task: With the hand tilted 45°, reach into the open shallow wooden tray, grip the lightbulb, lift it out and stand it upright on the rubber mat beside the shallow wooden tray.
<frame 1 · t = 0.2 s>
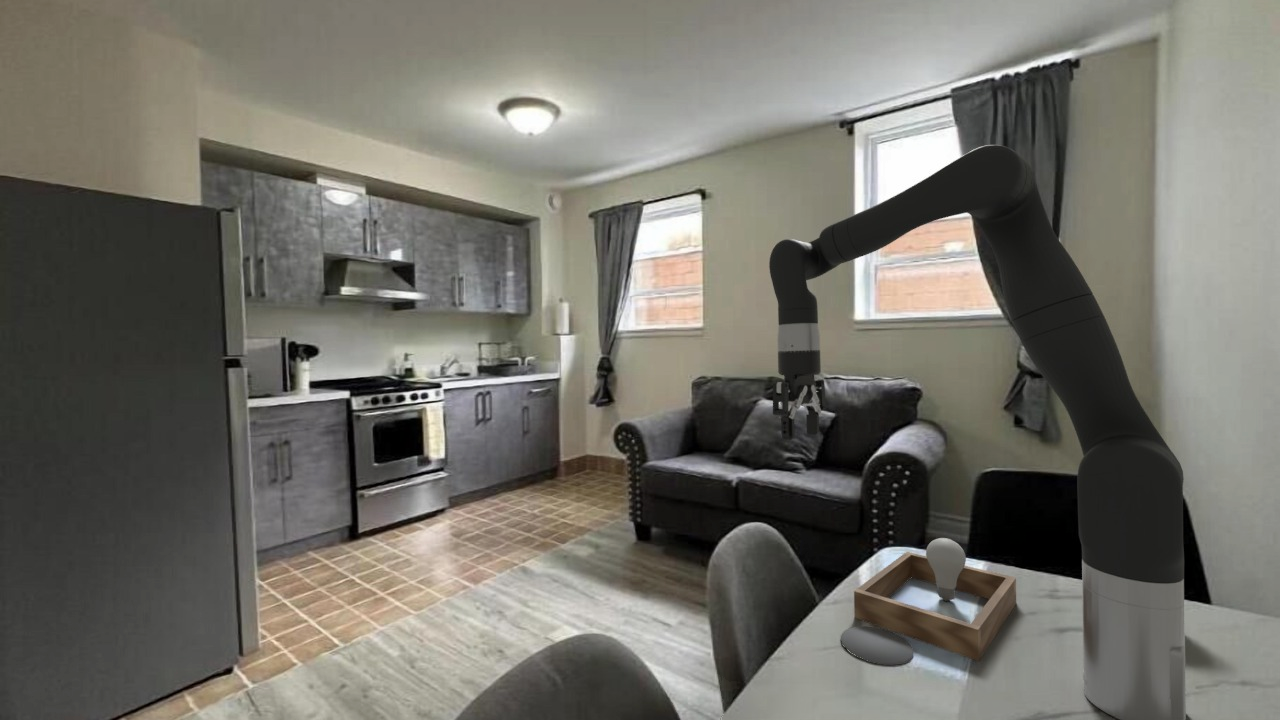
hand: (801, 436, 98), 29 cm above the table, tool pointing down, fingers open, 8 cm apart
mat: (876, 645, 80), on the table
lightbulb: (946, 601, 94), resting in shallow wooden tray
shallow wooden tray: (937, 610, 90), on the table
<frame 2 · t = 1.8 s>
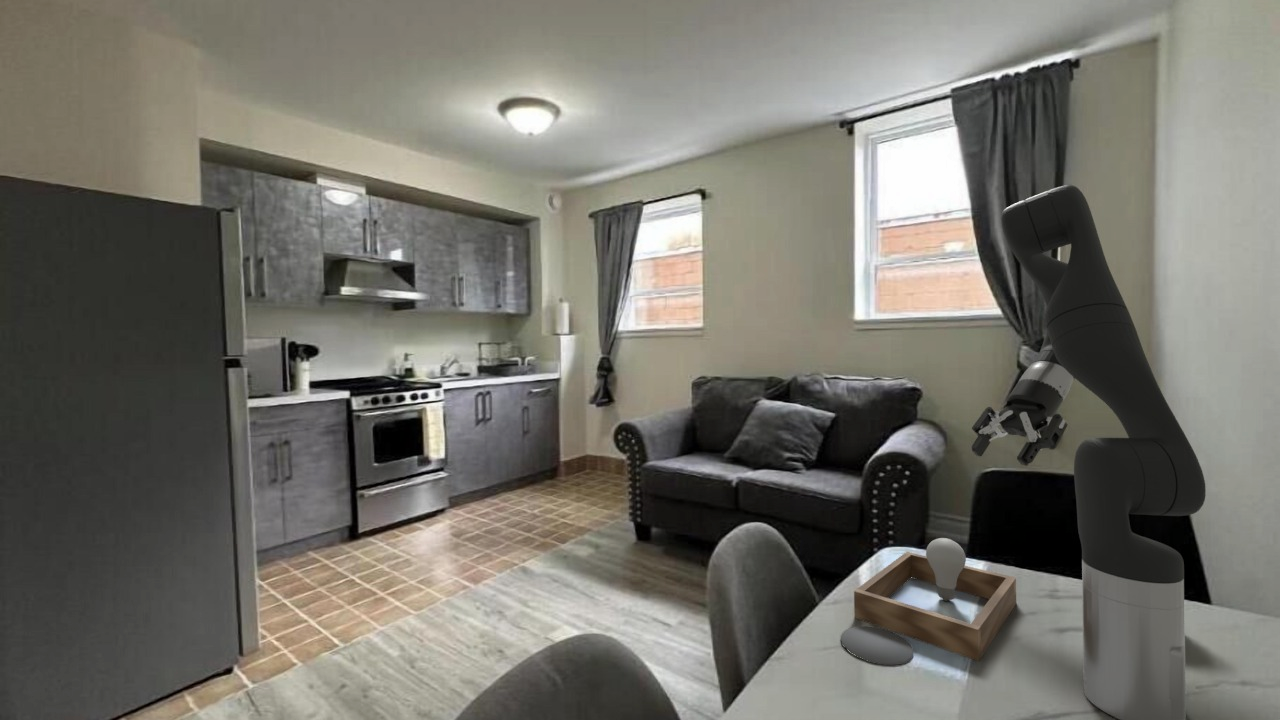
hand: (997, 457, 96), 25 cm above the table, tool tilted 45°, fingers open, 8 cm apart
nothing on the table moved.
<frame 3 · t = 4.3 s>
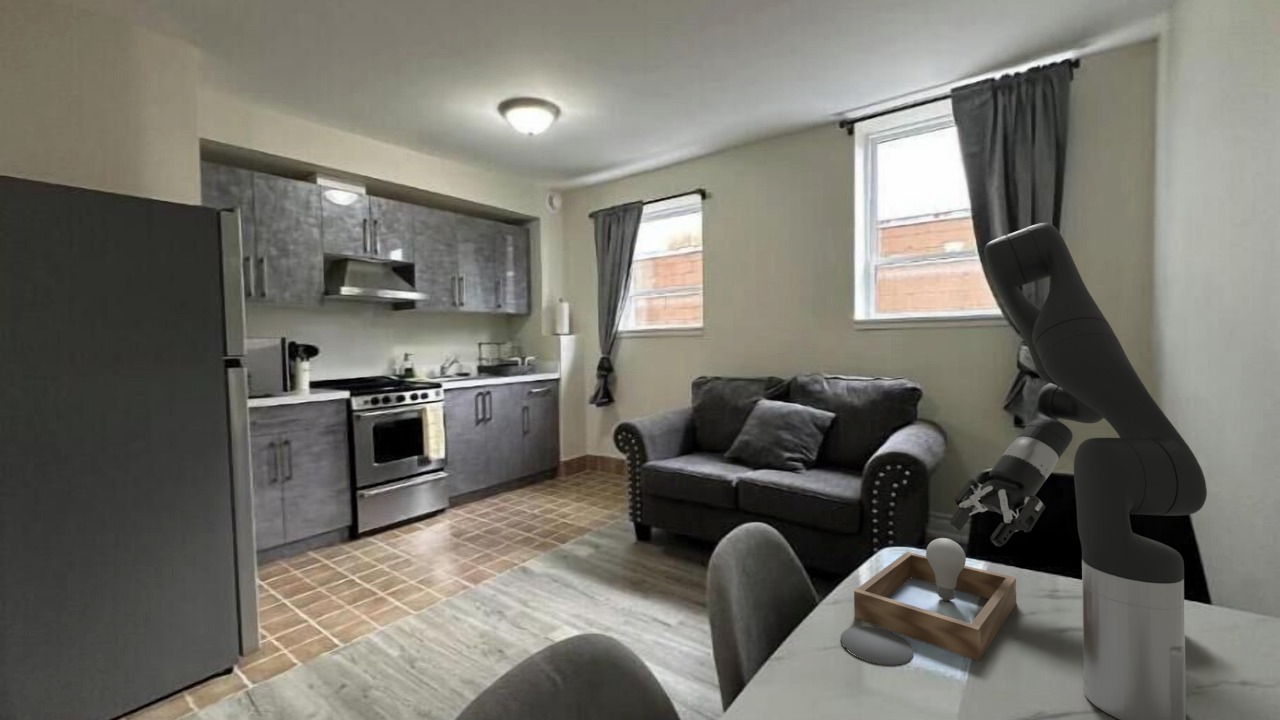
hand: (973, 535, 95), 11 cm above the table, tool tilted 45°, fingers open, 8 cm apart
nothing on the table moved.
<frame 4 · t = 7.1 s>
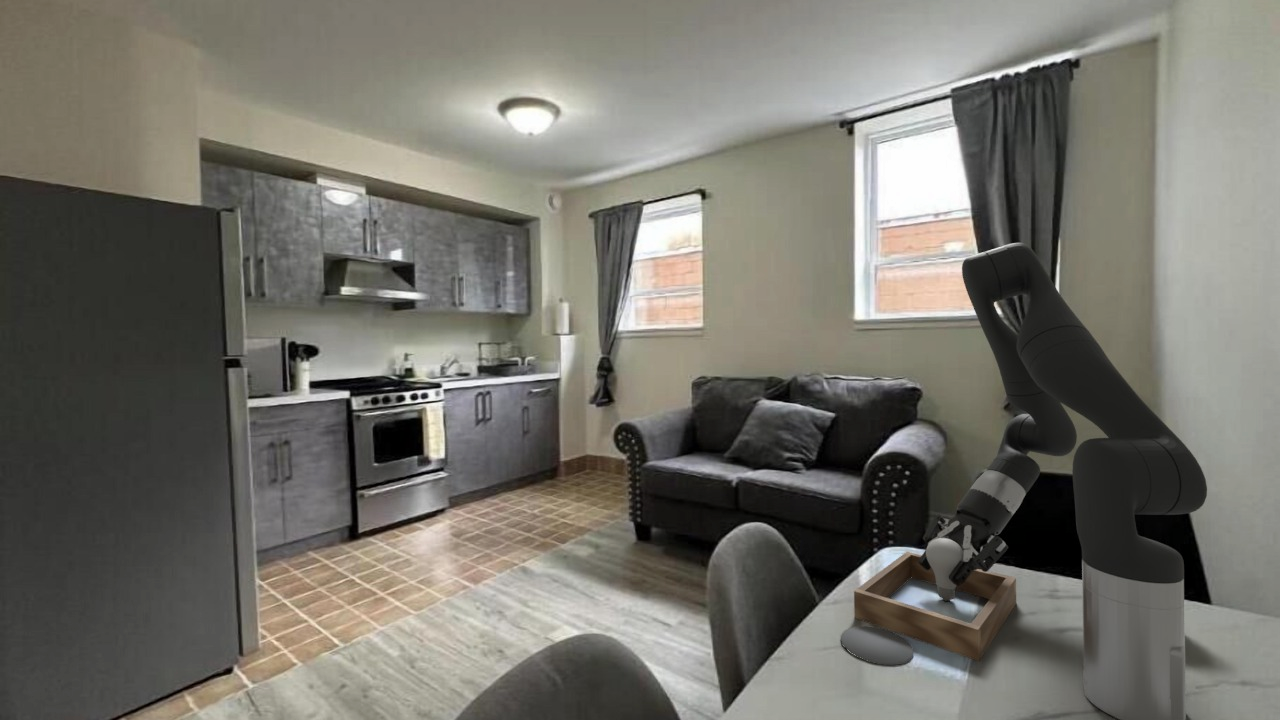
hand: (937, 574, 93), 5 cm above the table, tool tilted 45°, fingers closed on lightbulb, 6 cm apart
lightbulb: (946, 601, 94), resting in shallow wooden tray, touching gripper
everything else where it was.
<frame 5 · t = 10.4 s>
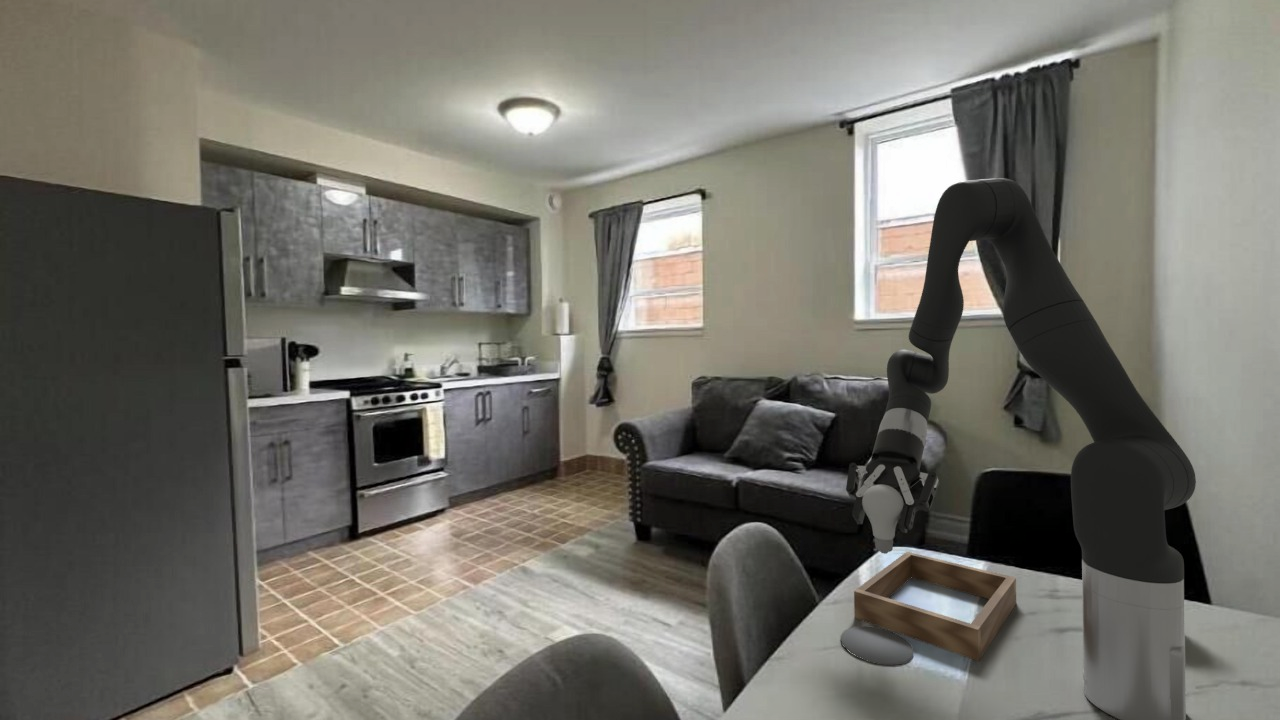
hand: (880, 525, 83), 17 cm above the table, tool tilted 45°, fingers closed on lightbulb, 6 cm apart
lightbulb: (884, 554, 85), point 12 cm above the table, touching gripper
everything else where it was.
when the fingers open (6 cm above the table, at t = 14.0 s): lightbulb stays where it is, resting on mat.
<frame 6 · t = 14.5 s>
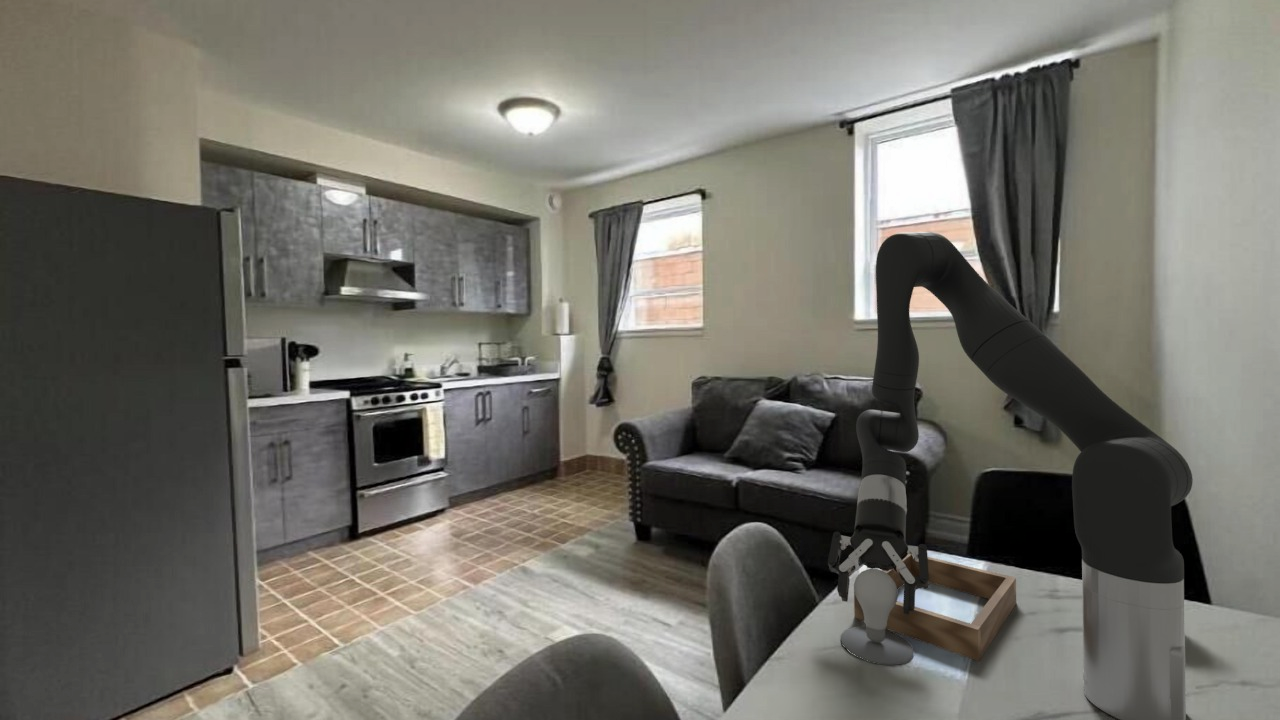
hand: (874, 605, 79), 7 cm above the table, tool tilted 45°, fingers open, 8 cm apart
lightbulb: (875, 643, 80), resting on mat
everything else where it was.
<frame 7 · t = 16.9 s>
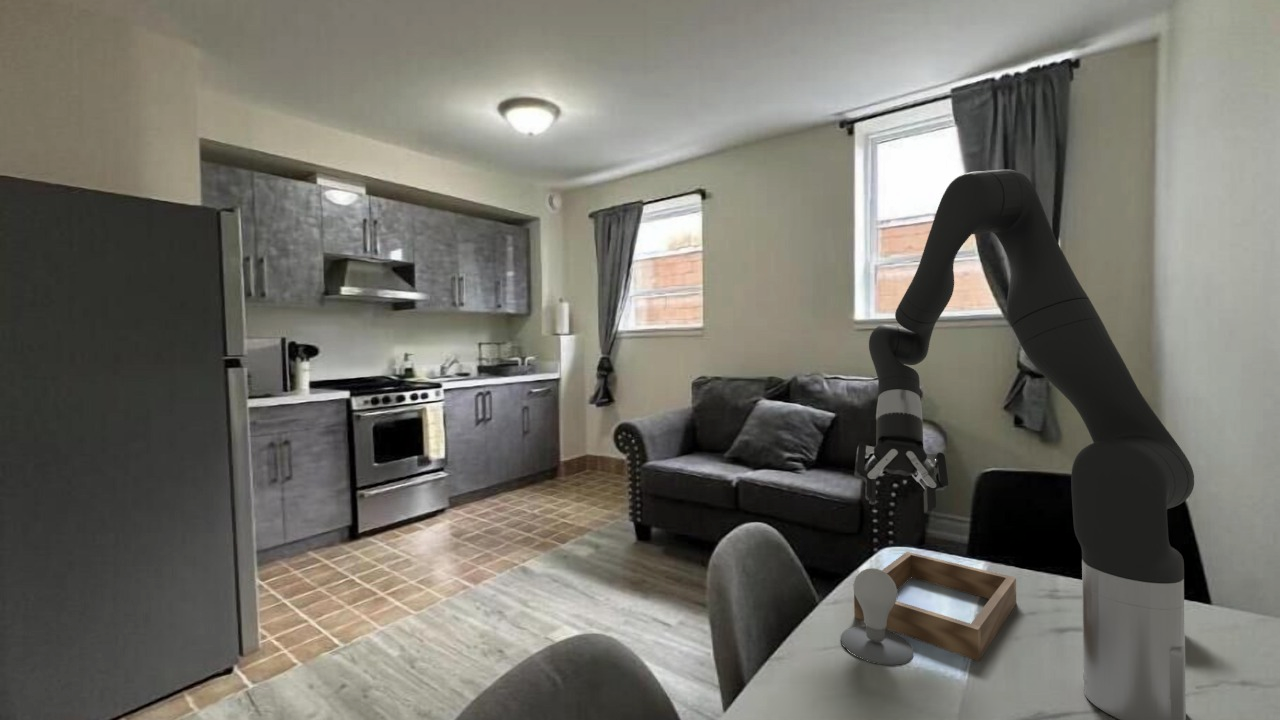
hand: (900, 507, 88), 18 cm above the table, tool tilted 35°, fingers open, 8 cm apart
nothing on the table moved.
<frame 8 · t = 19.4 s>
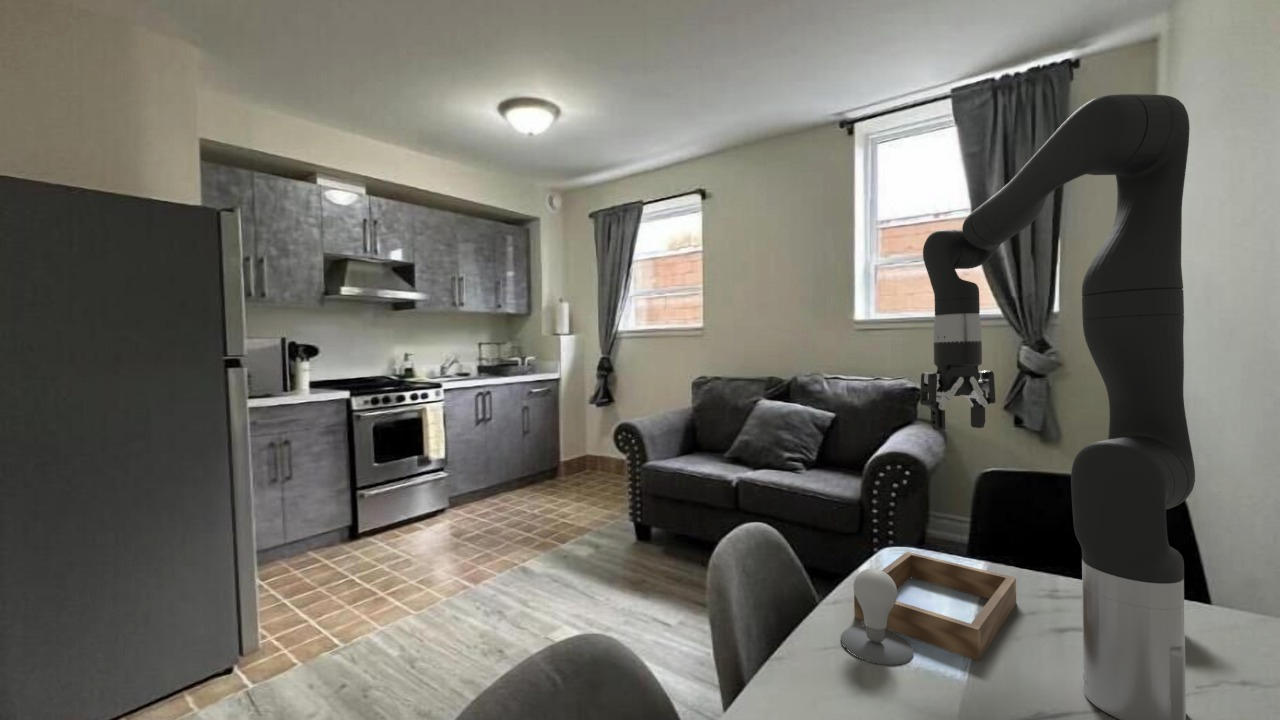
hand: (958, 428, 96), 30 cm above the table, tool pointing down, fingers open, 8 cm apart
nothing on the table moved.
at the end: lightbulb inside the target area on the mat (0.2 cm from its centre), point 0.2 cm above the mat's base; lightbulb tilted 1°; the gripper is holding nothing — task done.
